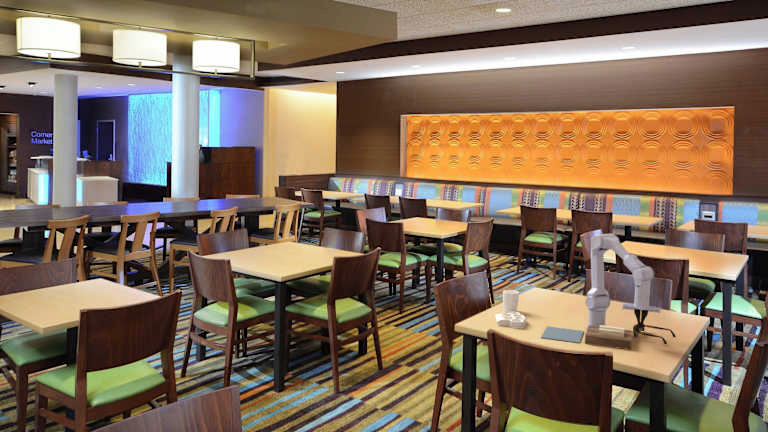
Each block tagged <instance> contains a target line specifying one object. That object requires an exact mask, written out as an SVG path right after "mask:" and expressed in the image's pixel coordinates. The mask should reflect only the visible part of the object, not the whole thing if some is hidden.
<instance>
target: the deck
mask: <svg viewBox="0 0 768 432" xmlns="http://www.w3.org/2000/svg"><path fill="white" fill-rule="evenodd" d="M587 326H588V328H587V327H586V332H585V336H584V344H587V345H595V346H602V347H610V348H616V347H619V348H618V349H623V348H627V349H626V350H630V349H632V337H633V330H630V329H624V337H618V336H610V335H603V334H599V327H598V326H590V325H588V324H587Z"/></svg>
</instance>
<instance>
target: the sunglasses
mask: <svg viewBox="0 0 768 432" xmlns="http://www.w3.org/2000/svg"><path fill="white" fill-rule="evenodd" d="M640 323H641V321H640ZM645 327H646V328H651V329H656V330H663V331H669V332H670V334H671V335H672V338H674V337H676V334H675V332H674V331H673V330H672V329H670V328H666V327H665V328H664V327H659V326H654V325H649V324H648V325H647V324H645V322H643V325H642V328H638V322H637V323H636V324H635V325H633V327H632V335H633V338H634V337H635V338H634V339H637V336H636V335H638V336H639V335H640V336H641V335H642V336H647V337H652V338H659V339H661V340H662V342H663V345H665V344H667V345H668V343H667V341H666V339H665V338H664V337H663V336H661V335H655V334H651V333H648V332H647V333H645ZM641 331H644V332H641ZM676 338H677V337H676Z"/></svg>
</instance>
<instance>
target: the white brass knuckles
mask: <svg viewBox="0 0 768 432" xmlns="http://www.w3.org/2000/svg"><path fill="white" fill-rule="evenodd" d="M494 317H495V321H496V323H497V325H498V326H500V325H502V326H501V327H510V328H512V329H519V330H520V329H524V328H525V326H526V324H529V321H528V320H527V318H526V316H525V315H524V314H521V312H518V311H517V312H500V313H497V314H495V316H494Z"/></svg>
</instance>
